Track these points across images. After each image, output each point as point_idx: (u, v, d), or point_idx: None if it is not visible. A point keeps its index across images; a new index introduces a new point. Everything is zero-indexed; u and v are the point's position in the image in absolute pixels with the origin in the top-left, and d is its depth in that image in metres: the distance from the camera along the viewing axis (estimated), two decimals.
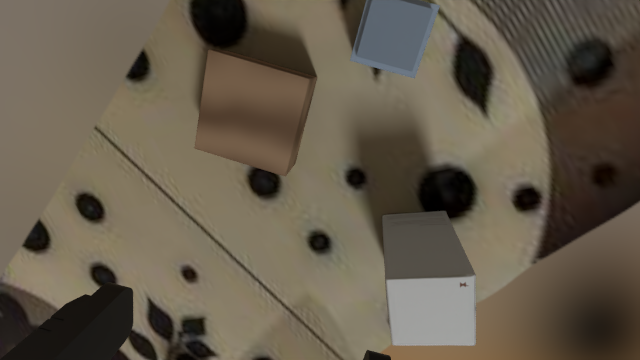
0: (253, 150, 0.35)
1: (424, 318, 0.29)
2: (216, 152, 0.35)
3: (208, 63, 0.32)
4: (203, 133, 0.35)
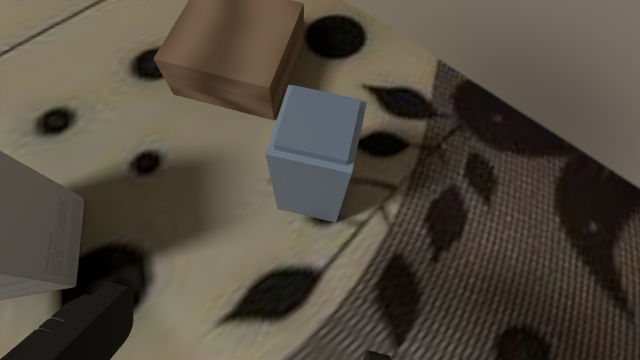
0: (191, 30, 0.29)
1: None
2: None
3: (290, 2, 0.31)
4: None
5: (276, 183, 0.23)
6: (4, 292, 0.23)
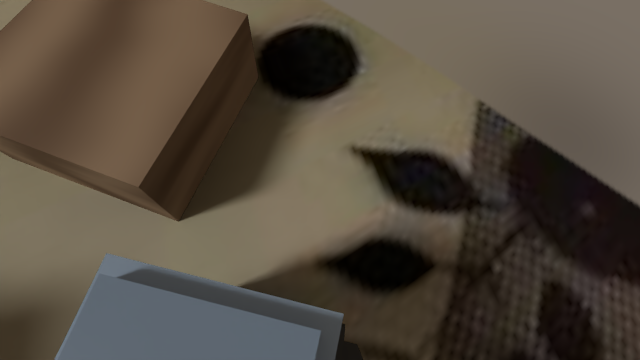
0: (21, 52, 0.15)
1: None
2: None
3: (222, 10, 0.17)
4: None
5: None
6: None
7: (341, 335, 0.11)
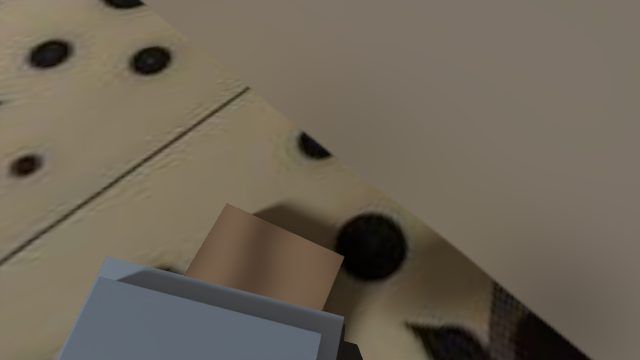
0: None
1: None
2: (214, 231, 0.26)
3: (328, 252, 0.26)
4: (243, 220, 0.26)
5: None
6: None
7: (341, 335, 0.11)
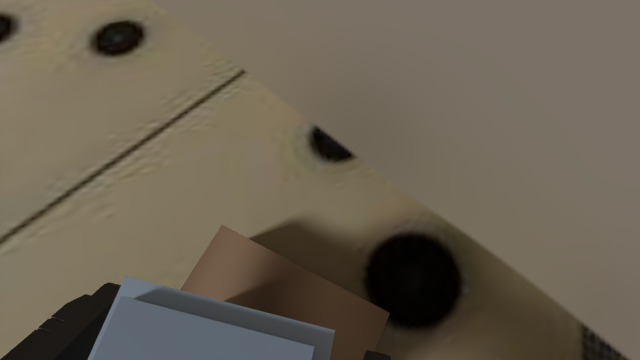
0: None
1: None
2: (201, 266, 0.18)
3: (365, 305, 0.17)
4: (244, 252, 0.18)
5: None
6: None
7: None
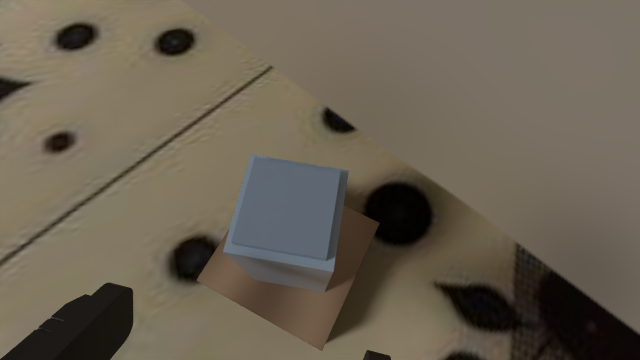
0: None
1: None
2: None
3: (364, 218, 0.27)
4: None
5: (246, 268, 0.19)
6: None
7: None
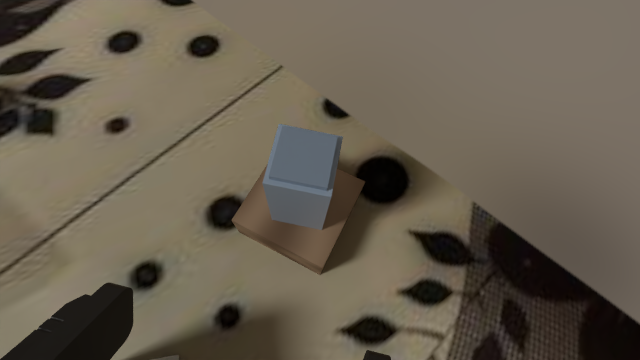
0: None
1: None
2: None
3: (353, 178, 0.36)
4: None
5: (271, 202, 0.28)
6: None
7: None
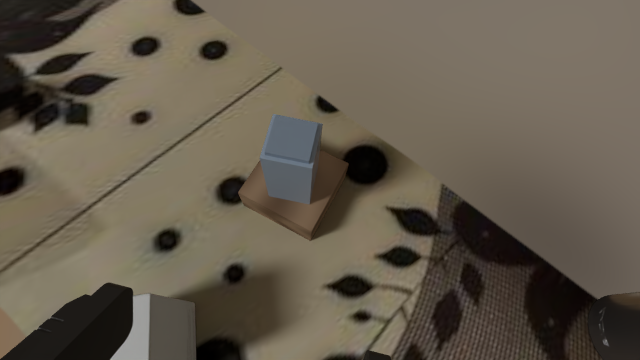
0: None
1: None
2: None
3: (339, 160, 0.43)
4: None
5: (267, 177, 0.35)
6: None
7: None
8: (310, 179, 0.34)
